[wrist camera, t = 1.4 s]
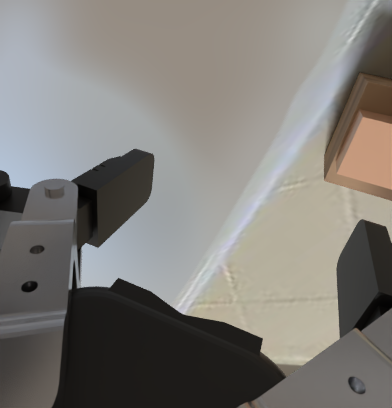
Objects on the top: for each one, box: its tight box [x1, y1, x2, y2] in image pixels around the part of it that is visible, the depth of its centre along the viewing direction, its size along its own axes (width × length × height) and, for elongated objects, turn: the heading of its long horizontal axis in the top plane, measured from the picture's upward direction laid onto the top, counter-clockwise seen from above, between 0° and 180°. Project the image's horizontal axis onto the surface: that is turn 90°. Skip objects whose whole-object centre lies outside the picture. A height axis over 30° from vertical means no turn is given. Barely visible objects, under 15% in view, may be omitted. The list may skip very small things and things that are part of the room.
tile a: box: [336, 109, 392, 190], centre depth 21 cm, size 4×4×2 cm
